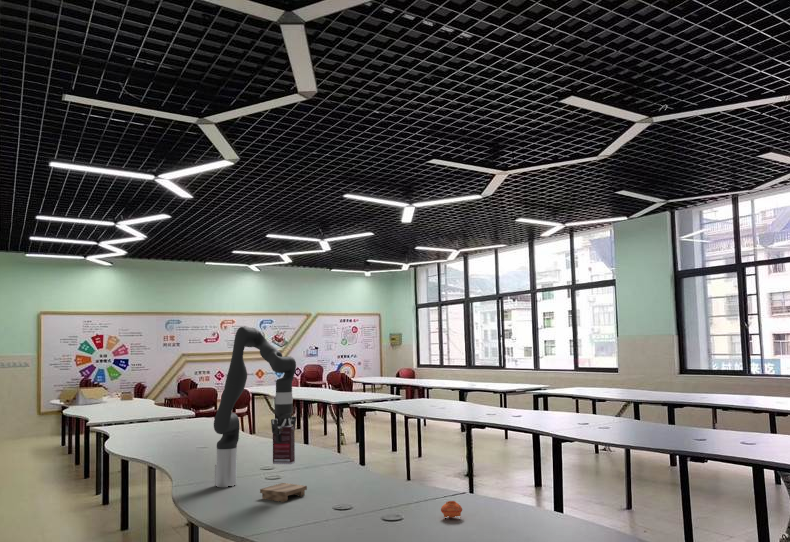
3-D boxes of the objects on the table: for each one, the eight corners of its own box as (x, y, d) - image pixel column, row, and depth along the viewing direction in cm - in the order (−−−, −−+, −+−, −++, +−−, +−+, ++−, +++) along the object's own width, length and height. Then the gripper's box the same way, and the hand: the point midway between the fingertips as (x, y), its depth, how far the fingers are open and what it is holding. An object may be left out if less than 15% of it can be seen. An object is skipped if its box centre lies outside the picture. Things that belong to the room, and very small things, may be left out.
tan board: (260, 498, 265) (260, 489, 266) (282, 492, 277) (282, 482, 278) (285, 502, 258) (285, 492, 259) (306, 495, 270) (306, 485, 270)
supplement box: (295, 462, 271) (295, 425, 273) (291, 464, 266) (291, 426, 268) (276, 462, 273) (276, 425, 275) (272, 464, 268) (272, 426, 270)
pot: (452, 522, 223) (448, 502, 225) (439, 523, 229) (435, 504, 231) (468, 517, 228) (464, 498, 230) (455, 518, 234) (451, 499, 236)
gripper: (279, 404, 265) (278, 445, 263) (301, 401, 277) (301, 440, 275) (266, 403, 269) (265, 443, 266) (288, 401, 281) (288, 439, 279)
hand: (283, 442), depth 271 cm, fingers closed on supplement box, 5 cm apart
